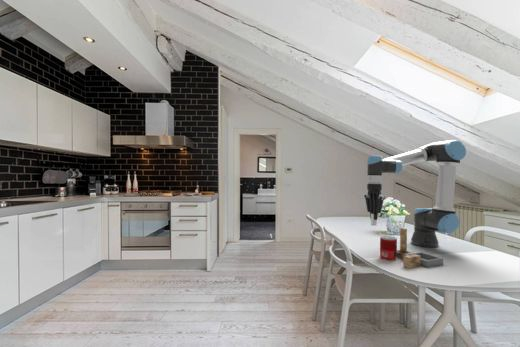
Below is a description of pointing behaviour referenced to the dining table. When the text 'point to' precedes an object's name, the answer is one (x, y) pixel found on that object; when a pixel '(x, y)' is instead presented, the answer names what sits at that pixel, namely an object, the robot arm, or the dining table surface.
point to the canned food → (388, 247)
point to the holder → (402, 254)
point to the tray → (428, 259)
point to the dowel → (403, 240)
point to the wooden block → (411, 261)
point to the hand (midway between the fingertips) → (373, 225)
